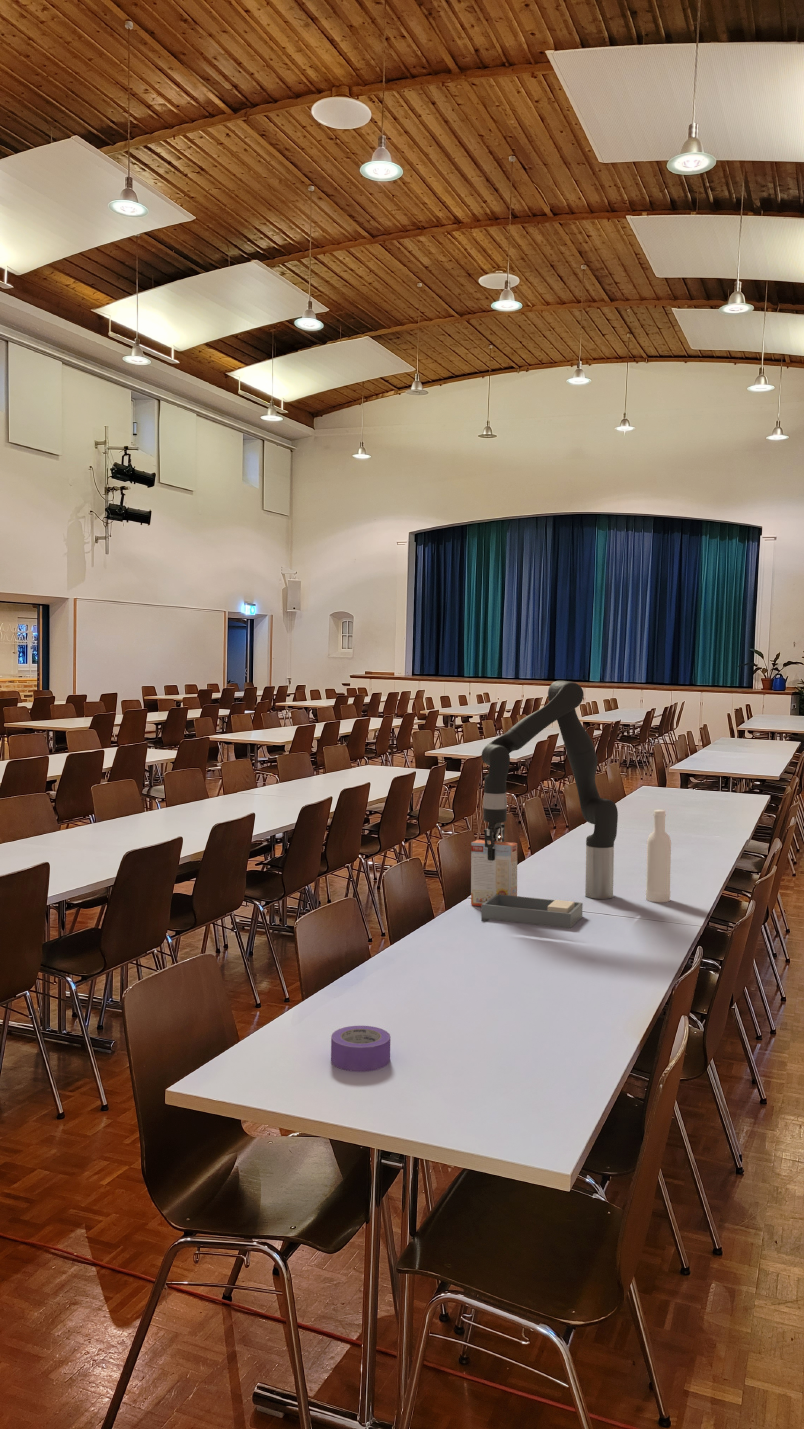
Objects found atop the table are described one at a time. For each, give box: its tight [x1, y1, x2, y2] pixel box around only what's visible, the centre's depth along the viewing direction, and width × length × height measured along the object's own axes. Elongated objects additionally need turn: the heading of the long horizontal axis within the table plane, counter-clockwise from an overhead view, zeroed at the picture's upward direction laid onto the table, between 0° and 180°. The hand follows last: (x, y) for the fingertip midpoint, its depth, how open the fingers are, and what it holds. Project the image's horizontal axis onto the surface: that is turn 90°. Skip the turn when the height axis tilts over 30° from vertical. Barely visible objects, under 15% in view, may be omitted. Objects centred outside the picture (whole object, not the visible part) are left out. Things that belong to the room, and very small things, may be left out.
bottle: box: [645, 809, 672, 904], centre depth 333 cm, size 8×8×30 cm
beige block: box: [547, 899, 575, 913], centre depth 304 cm, size 9×6×5 cm, turn 157°
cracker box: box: [470, 839, 518, 907], centre depth 324 cm, size 14×6×21 cm, turn 62°
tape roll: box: [330, 1025, 391, 1073], centre depth 199 cm, size 12×12×5 cm
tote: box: [480, 894, 584, 929], centre depth 307 cm, size 15×28×5 cm, turn 67°
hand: (494, 858), depth 323 cm, fingers closed on cracker box, 6 cm apart
